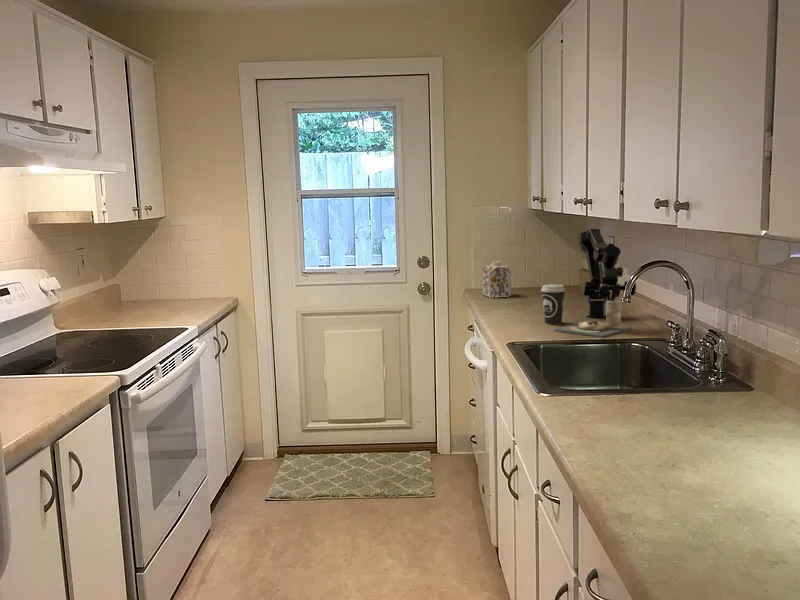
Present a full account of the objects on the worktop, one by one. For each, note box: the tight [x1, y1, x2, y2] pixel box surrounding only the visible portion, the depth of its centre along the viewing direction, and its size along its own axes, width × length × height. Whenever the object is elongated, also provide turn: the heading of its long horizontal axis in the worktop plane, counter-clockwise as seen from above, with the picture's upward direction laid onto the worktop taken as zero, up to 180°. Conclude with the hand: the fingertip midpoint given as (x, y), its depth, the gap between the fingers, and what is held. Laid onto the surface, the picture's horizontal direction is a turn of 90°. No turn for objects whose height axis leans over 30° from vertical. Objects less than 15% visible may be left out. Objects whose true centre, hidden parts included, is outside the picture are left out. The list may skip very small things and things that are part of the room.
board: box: [554, 322, 632, 338], centre depth 257 cm, size 20×20×1 cm
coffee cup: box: [540, 283, 567, 325], centre depth 274 cm, size 10×10×15 cm
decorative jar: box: [482, 260, 512, 297], centre depth 351 cm, size 12×12×18 cm
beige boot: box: [578, 300, 622, 330], centre depth 253 cm, size 15×13×10 cm
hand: (611, 306), depth 256 cm, fingers closed
